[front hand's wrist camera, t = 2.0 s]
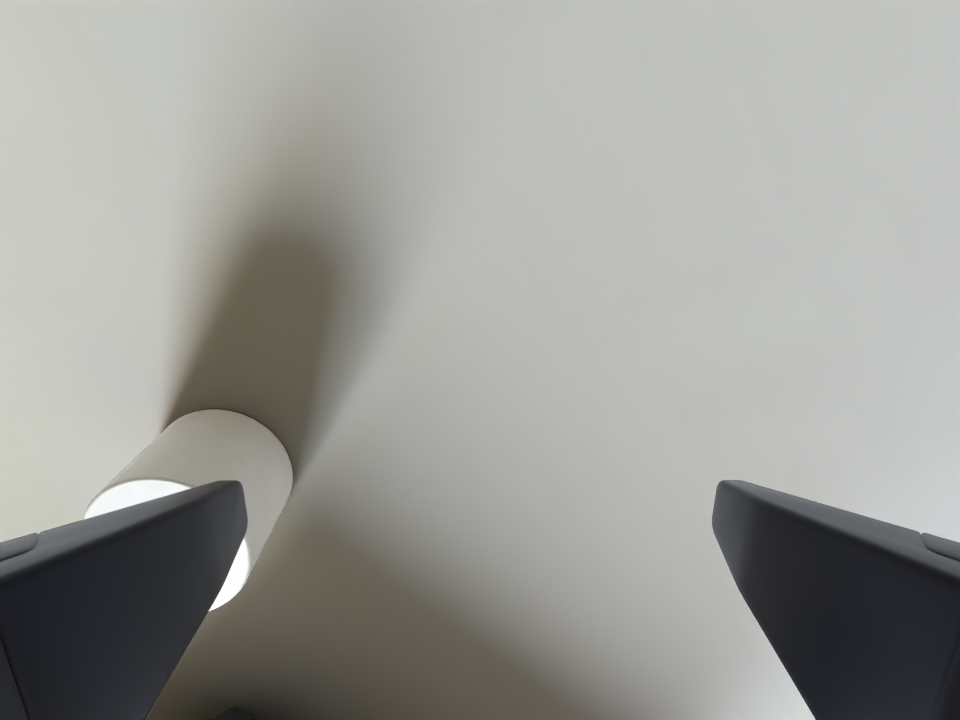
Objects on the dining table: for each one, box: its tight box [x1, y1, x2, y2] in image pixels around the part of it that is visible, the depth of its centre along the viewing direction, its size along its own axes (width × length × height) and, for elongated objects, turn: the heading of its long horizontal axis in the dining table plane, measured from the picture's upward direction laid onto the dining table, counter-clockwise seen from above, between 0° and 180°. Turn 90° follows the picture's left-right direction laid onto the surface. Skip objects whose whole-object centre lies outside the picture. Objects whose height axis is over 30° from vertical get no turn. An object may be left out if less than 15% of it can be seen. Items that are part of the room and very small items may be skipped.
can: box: [82, 409, 293, 611], centre depth 19 cm, size 5×5×4 cm
